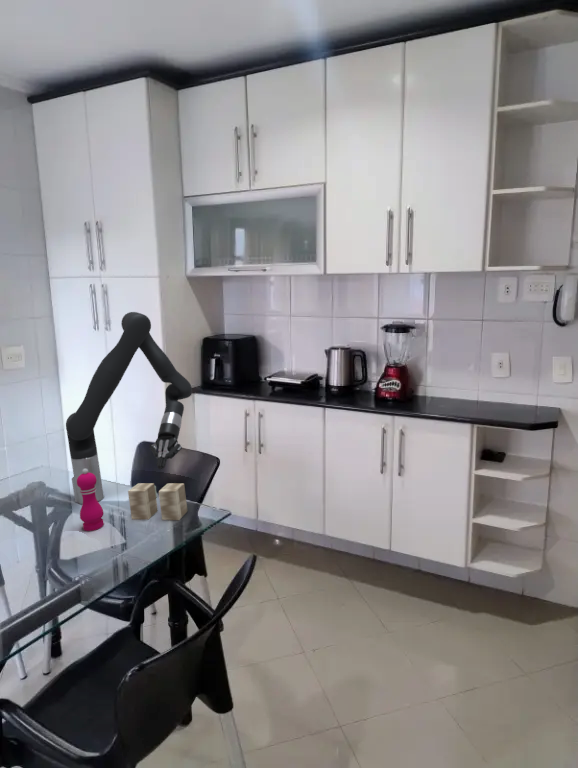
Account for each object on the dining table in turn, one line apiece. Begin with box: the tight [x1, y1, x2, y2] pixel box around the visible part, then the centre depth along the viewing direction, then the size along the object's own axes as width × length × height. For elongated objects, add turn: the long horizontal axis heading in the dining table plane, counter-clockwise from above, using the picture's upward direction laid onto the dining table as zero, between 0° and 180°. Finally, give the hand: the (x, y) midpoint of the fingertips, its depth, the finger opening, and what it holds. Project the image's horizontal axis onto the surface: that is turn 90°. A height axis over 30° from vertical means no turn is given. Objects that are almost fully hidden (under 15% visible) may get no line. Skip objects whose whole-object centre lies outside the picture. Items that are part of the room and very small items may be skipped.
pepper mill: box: [77, 469, 105, 532], centre depth 171 cm, size 7×7×20 cm
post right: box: [158, 482, 188, 521], centre depth 175 cm, size 6×7×10 cm
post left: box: [127, 482, 159, 521], centre depth 178 cm, size 6×7×10 cm
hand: (160, 468), depth 191 cm, fingers closed
